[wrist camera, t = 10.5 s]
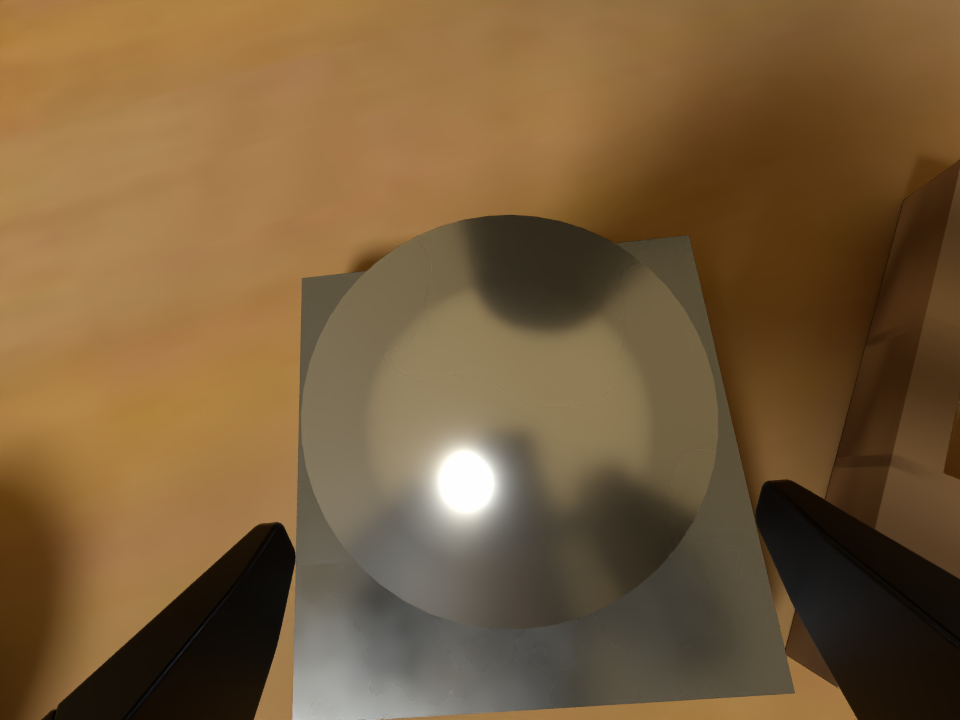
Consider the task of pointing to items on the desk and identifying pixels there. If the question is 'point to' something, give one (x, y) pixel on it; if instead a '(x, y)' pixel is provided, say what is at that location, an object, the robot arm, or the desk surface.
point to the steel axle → (509, 422)
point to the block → (550, 649)
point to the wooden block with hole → (906, 397)
